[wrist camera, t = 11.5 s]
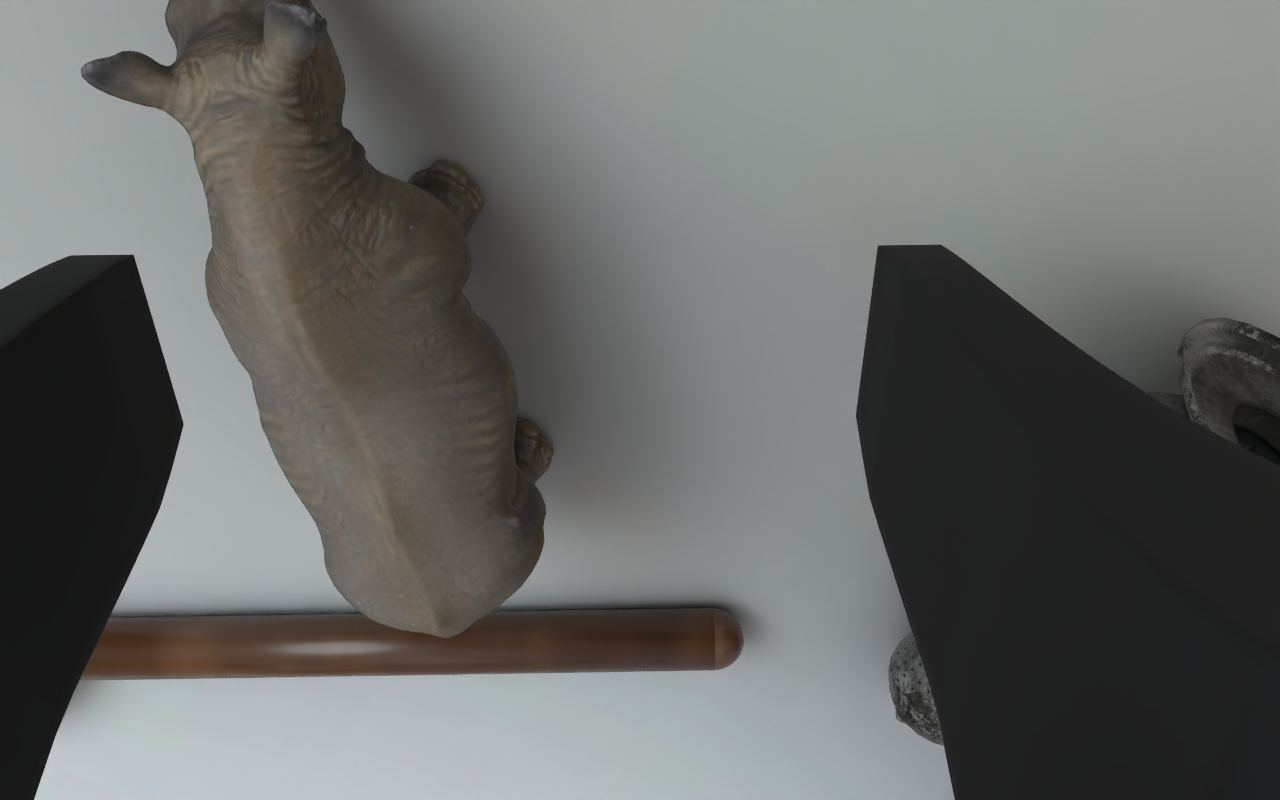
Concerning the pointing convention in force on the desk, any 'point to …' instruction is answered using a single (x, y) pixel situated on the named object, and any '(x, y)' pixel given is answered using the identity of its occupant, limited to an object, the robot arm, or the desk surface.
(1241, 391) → the grey weathered turned ornament
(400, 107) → the desk surface
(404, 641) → the brown long-handled part
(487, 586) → the rhino figurine
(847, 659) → the desk surface
